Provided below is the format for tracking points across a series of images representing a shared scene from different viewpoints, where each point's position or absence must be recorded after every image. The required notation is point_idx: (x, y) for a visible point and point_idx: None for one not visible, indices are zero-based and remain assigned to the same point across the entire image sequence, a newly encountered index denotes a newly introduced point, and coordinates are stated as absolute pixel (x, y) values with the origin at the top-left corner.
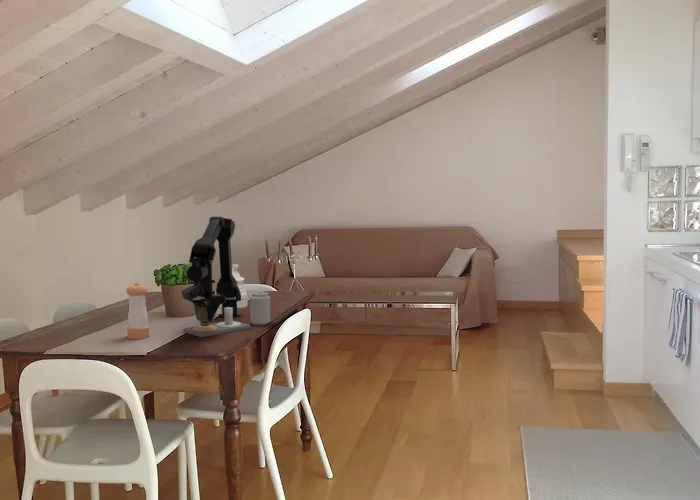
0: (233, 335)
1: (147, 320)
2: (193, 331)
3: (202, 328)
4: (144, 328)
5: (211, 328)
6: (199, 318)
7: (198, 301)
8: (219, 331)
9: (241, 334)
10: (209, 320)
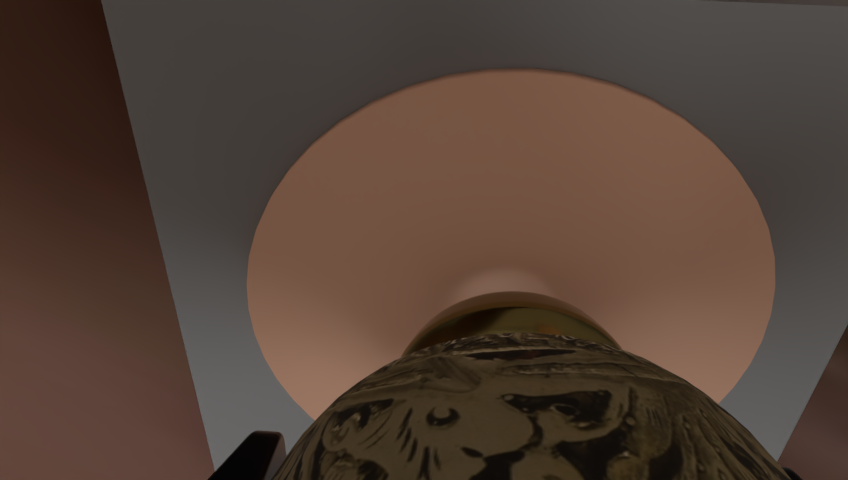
0: (11, 394)
1: None
2: (484, 2)
3: (513, 271)
4: None
5: (380, 365)
6: (448, 366)
7: None
8: (197, 364)
9: (23, 470)
10: (233, 453)
